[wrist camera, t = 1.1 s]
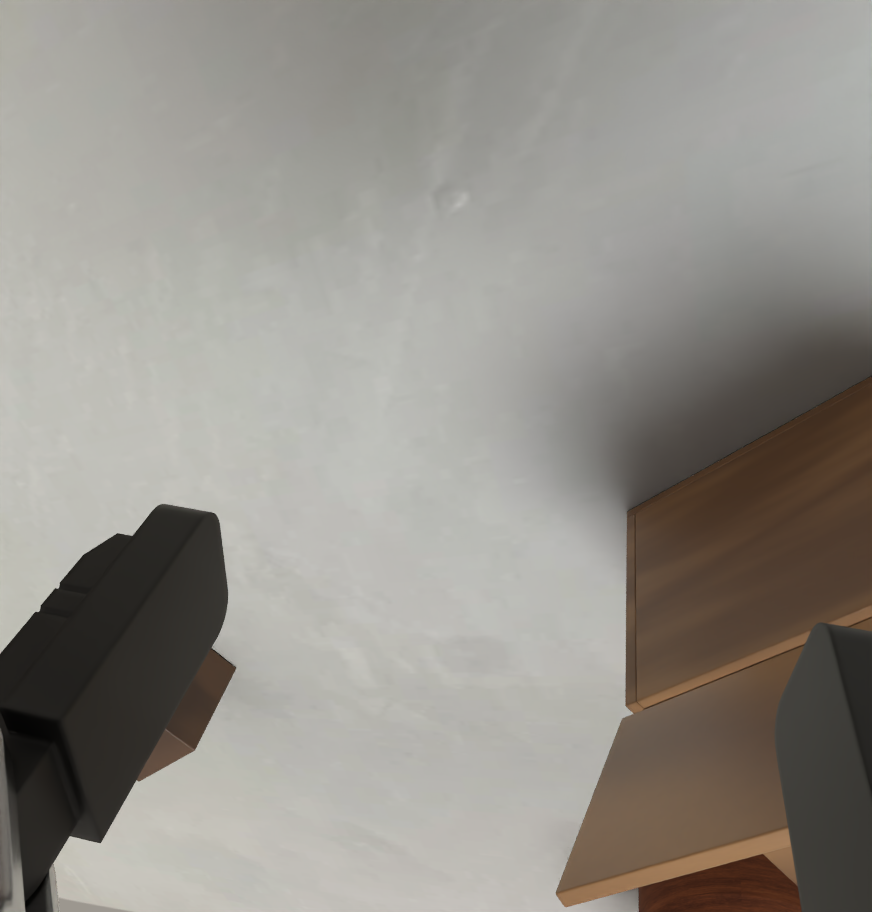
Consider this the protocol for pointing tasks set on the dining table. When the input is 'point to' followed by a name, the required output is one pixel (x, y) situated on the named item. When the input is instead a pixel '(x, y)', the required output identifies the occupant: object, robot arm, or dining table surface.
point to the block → (191, 714)
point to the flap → (686, 787)
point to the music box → (725, 890)
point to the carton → (752, 556)
